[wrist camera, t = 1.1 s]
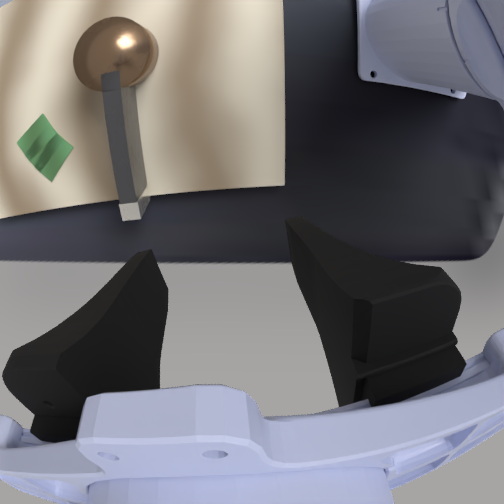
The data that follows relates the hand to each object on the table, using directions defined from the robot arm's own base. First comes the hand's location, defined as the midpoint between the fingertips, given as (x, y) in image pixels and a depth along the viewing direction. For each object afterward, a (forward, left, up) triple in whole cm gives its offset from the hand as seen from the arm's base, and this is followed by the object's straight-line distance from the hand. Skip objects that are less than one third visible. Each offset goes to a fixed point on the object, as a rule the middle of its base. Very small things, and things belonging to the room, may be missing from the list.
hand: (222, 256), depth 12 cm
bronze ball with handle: (+5, -5, -8) cm, 11 cm away
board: (+7, -8, -9) cm, 14 cm away
